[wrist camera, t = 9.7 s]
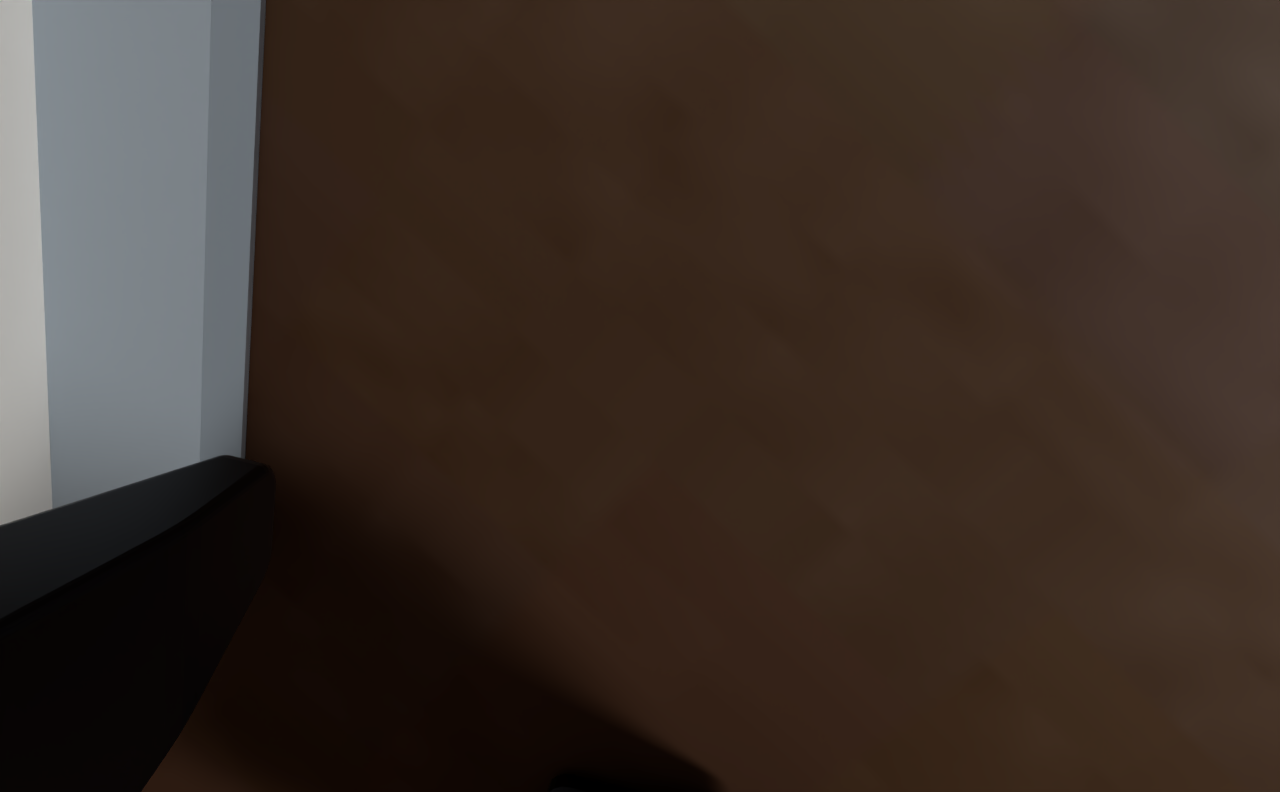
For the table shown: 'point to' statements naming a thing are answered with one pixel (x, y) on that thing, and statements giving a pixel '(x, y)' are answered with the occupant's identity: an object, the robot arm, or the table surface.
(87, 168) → the keyhole board
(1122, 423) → the table surface
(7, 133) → the power strip
